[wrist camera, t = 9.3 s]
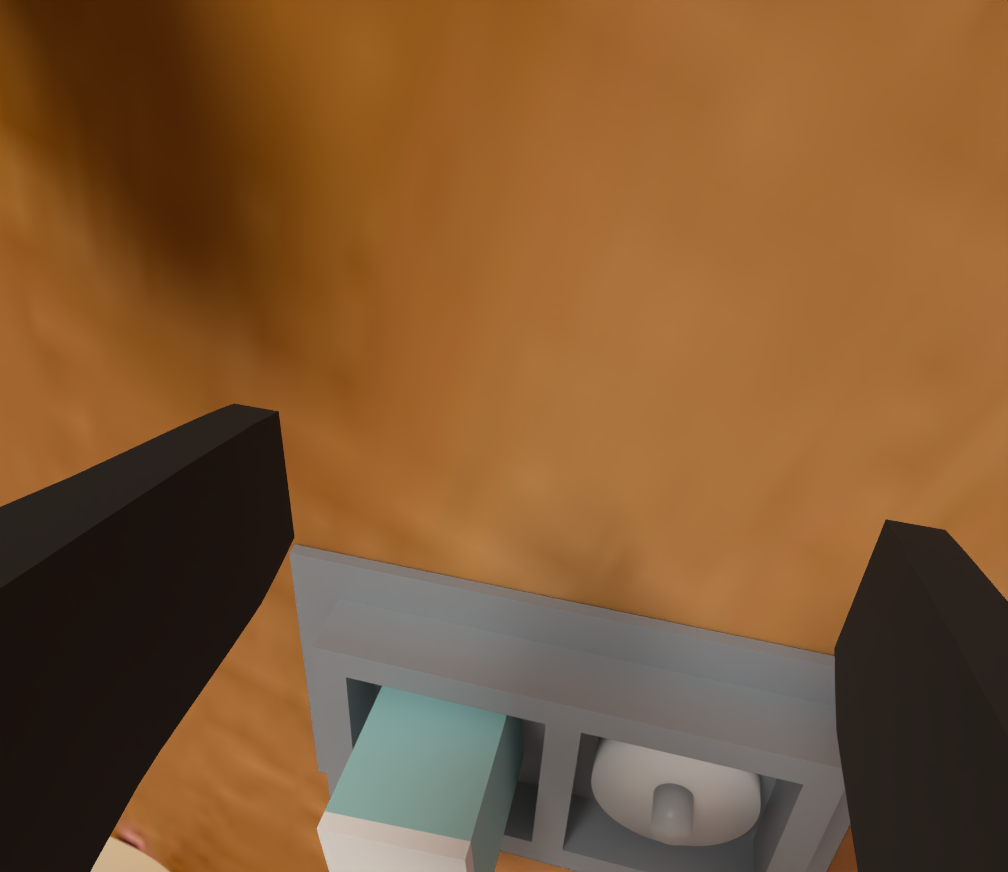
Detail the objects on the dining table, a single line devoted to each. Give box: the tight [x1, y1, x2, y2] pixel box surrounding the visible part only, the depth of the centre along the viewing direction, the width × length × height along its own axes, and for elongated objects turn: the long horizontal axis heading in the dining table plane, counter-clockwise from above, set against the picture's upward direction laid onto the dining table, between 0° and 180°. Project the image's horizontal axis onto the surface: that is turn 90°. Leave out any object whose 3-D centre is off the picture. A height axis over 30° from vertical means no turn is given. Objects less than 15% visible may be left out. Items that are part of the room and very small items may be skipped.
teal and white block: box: [317, 686, 524, 872], centre depth 24 cm, size 4×4×6 cm
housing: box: [289, 544, 850, 872], centre depth 25 cm, size 18×11×3 cm, turn 87°
